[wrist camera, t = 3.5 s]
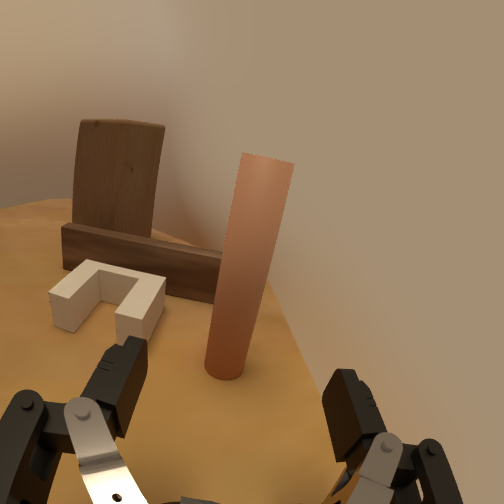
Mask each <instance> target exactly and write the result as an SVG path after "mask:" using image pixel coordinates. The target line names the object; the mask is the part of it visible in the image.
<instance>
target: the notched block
mask: <svg viewBox="0 0 504 504" xmlns="http://www.w3.org/2000/svg"><path fill="white" fill-rule="evenodd" d="M165 287H166V277H162V276H157V275H153V274H148V273H144V272H139V271H135V270H130V269H126V268H121V267H117V266H113V265H108V264H104V263H100V262H96V261H92V260H88V259H86V260H85V261H84V262H83V263H81V264H80V265H79V266H78V267H77V268H75V269H74V270H73V271H72V272H71V273H69V274H68V275H67V276H66V277H65V278H64V279H62V280H61V281H60V282H59V283H58V284H57V285H56V286H54V287H53V288H52V289H51V290H50V291H49V292H48V293H49V299H50V305H51V310H52V315H53V320H54V325H55V326H56V327H59V328H61V329H64V330H67V331H70V332H72V333H75V332H76V330H77V329H78V328H79V327H80V325H81V324H82V323H83V322H84V320H85V319H86V318H87V317H88V315H89V314H90V313H91V312H92V310H93V309H94V308H95V307H96V305H97V304H98V303H99V302H100V301H105V302H108V303H112V304H116V305H119V307H118V309H117V310H116V311H115V324H116V335H117V345H121V346H123V344H124V342H125V341H126V339H127V337H128V336H129V335H131V336H134V337H138V338H142V339H146V340H147V344H148V342H149V340H150V338H151V335H152V333H153V331H154V329H155V327H156V325H157V322H158V320H159V318H160V316H161V314H162V312H163V310H164V302H165Z"/></svg>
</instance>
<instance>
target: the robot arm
mask: <svg viewBox="0 0 504 504" xmlns="http://www.w3.org/2000/svg"><path fill="white" fill-rule="evenodd" d="M147 369H148V358H147V340H146V339H142V338H138V337H134V336H131V335H129V336H128V337H127V339H126V341H125V342H124V344H123V346H121V345H117V344H114V345H113V346H112V347H110V348H109V349H107V350H106V351H105V353H104V355H103V357H102V358H101V361H100V362H99V364H98V365H97V368H96V369H95V371H94V372H93V374H92V376H91V378H90V380H89V381H88V383H87V385H86V387H85V389H84V391H83V392H82V394H81V396H80V397H77V398H73V399H71V400H70V401H69V402H68V403H54V402H47V401H43V399H42V397H41V396H40V395H39V394H38V393H37V392H35V391H33V390H22V391H19V392H18V393H16V394H15V395H14V397H13V398H12V400H11V402H10V404H9V405H8V407H7V409H6V411H5V413H4V414H3V416H2V418H1V420H0V504H47V500H48V496H49V493H50V489H51V486H52V483H53V480H54V476H55V473H56V470H57V467H58V464H59V461H60V458H61V455H62V452H63V453H71V454H76V455H77V458H78V461H79V469H80V472H81V475H82V478H83V480H84V482H85V485H86V487H87V489H88V492H89V494H90V496H91V498H92V500H93V503H94V504H148V503H147V502H146V500H145V499H144V497H143V495H142V494H141V492H140V490H139V488H138V487H137V485H136V483H135V481H134V480H133V478H132V476H131V474H130V472H129V470H128V468H127V466H126V464H125V462H124V460H123V459H122V457H121V455H120V454H119V452H118V449H117V447H116V445H115V443H114V442H115V439H116V436H117V437H120V438H125V435H126V432H127V429H128V426H129V423H130V420H131V417H132V414H133V412H134V409H135V406H136V403H137V400H138V398H139V395H140V392H141V389H142V387H143V384H144V381H145V378H146V375H147ZM322 404H323V408H324V412H325V416H326V421H327V425H328V429H329V433H330V437H331V441H332V446H333V450H334V454H335V459H336V462H346V464H347V466H346V467H345V468H344V470H343V472H342V473H341V475H340V477H339V478H338V480H337V482H336V483H335V485H334V487H333V488H332V490H331V491H330V493H329V494H328V496H327V498H326V499H325V500H324V501H323V502H322V503H321V504H463V502H462V498H461V495H460V492H459V490H458V487H457V484H456V481H455V478H454V476H453V473H452V470H451V468H450V465H449V463H448V460H447V458H446V455H445V453H444V451H443V448H442V446H441V444H439V442H437V441H436V440H434V439H425V440H423V441H422V442H421V443H420V444H419V445H409V444H403V443H402V442H401V440H400V439H399V438H398V437H397V436H396V435H394V434H392V433H388V432H387V430H386V427H385V425H384V422H383V420H382V417H381V415H380V412H379V410H378V407H376V403H375V400H374V399H373V395H372V393H371V391H370V388H369V387H368V386H367V385H366V384H365V383H364V382H363V381H359V379H358V377H357V374H356V372H355V370H353V369H336V371H335V372H334V374H333V375H332V377H331V379H330V381H329V383H328V385H327V386H326V388H325V390H324V392H323V396H322ZM417 479H419V481H420V484H421V488H422V491H423V496H424V497H423V501H421V497H420V494H419V490H418V487H417V484H416V480H417ZM163 504H219V503H216V502H213V501H206V500H199V499H192V498H186V497H181V501H180V502H168V503H163Z"/></svg>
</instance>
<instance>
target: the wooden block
mask: <svg viewBox="0 0 504 504" xmlns="http://www.w3.org/2000/svg"><path fill="white" fill-rule="evenodd" d="M164 132H165V126H163V125H160V124H154V123H147V122H140V121H132V120H123V119H83V120H81V122H80V127H79V134H78V142H77V150H76V159H75V169H74V184H73V206H72V223H75V224H80V225H85V226H90V227H95V228H100V229H105V230H110V231H115V232H120V233H125V234H131V235H136V236H141V237H146V238H151V228H152V217H153V208H154V199H155V191H156V183H157V176H158V169H159V163H160V156H161V150H162V144H163V139H164Z"/></svg>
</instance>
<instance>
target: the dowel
mask: <svg viewBox="0 0 504 504" xmlns="http://www.w3.org/2000/svg"><path fill="white" fill-rule="evenodd" d="M293 168H294V164H293V163H289V162H285V161H281V160H277V159H272V158H268V157H263V156H258V155H253V154H248V153H242V156H241V161H240V165H239V170H238V175H237V180H236V185H235V190H234V195H233V200H232V205H231V210H230V216H229V221H228V226H227V232H226V237H225V243H224V248H223V254H222V259H221V265H220V271H219V276H218V282H217V288H216V294H215V300H214V306H213V312H212V318H211V324H210V331H209V337H208V343H207V350H206V357H205V363H204V366H205V369H206V371H207V372H208V373H209V374H210V375H211V376H213V377H215V378H217V379H221V380H232V379H235V378H237V377H239V376H240V375H241V373H242V370H243V367H244V363H245V359H246V356H247V352H248V348H249V345H250V341H251V337H252V333H253V330H254V326H255V322H256V318H257V315H258V311H259V307H260V303H261V299H262V295H263V291H264V288H265V284H266V280H267V276H268V272H269V268H270V264H271V259H272V256H273V251H274V248H275V244H276V240H277V236H278V232H279V227H280V223H281V219H282V215H283V210H284V207H285V202H286V198H287V194H288V190H289V185H290V181H291V177H292V173H293Z"/></svg>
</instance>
